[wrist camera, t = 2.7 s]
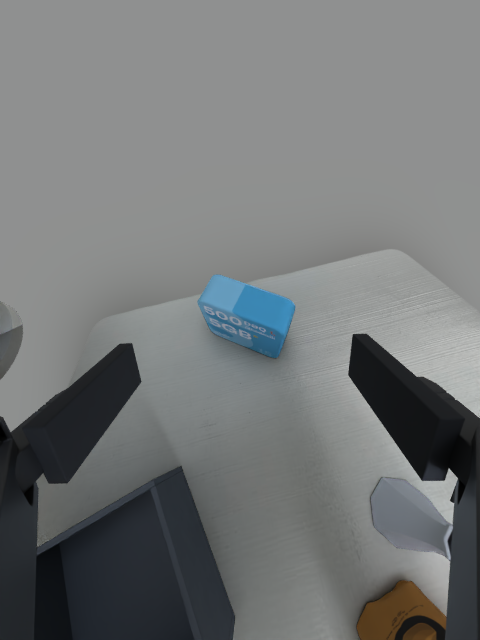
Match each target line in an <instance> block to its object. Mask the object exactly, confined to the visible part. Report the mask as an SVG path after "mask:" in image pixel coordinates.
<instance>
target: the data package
mask: <svg viewBox="0 0 480 640" xmlns="http://www.w3.org/2000/svg"><path fill="white" fill-rule="evenodd" d="M198 305H199V307H200V309H201V311H202V314H203V316H204V318H205V320H206V322H207V324H208V326H209V328H210V330H211V331H212V332H213V333H214V334H216V335H218V336H220V337H222V338H225V339H227V340H230V341H232V342H235V343H237V344H239V345H242V346H244V347H247V348H249V349H252V350H254V351H256V352H259V353H261V354H264V355H266V356H269V357H272V358H277V357H278V356H279V354H280V351H281V349H282V346H283V344H284V341H285V339H286V336H287V333H288V330H289V327H290V324H291V321H292V317H293V314H294V311H295V305H294V303H293V302H292V301H291V300H290V299H288V298H286V297H283V296H280V295H277V294H274V293H271V292H269V291H266V290H263V289H260V288H257V287H254V286H251V285H248V284H245V283H242V282H239V281H237V280H234V279H230V278H228V277H225V276H222V275H213V276H212V278H211V279H210V281H209V283H208V285H207V286H206V288H205V290H204V292H203V293H202V295H201V296H200V298H199V300H198Z"/></svg>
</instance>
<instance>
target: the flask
mask: <svg viewBox="0 0 480 640" xmlns="http://www.w3.org/2000/svg"><path fill="white" fill-rule="evenodd" d="M371 506H372V514H373V522H374V527H375V528H376V529H377V530H378V531H379V532H380V533H381V534H382V535H384V536H385V537H386V538H387V539H388V540H389V541H390V542H391V543H392V544H393V545H394V546H395V547H396V548H401V549H409V550H416V551H424V552H436V553H439V554H441V555H444V556H445V557H446V558H447V559H448V560H449V561H450V560H451V545H452V530H453V525H452V524H450V523H448V522H447V521H446V520H445V519H444V517H443V516H442V515H441V514H440V513H439V512H438V510H437V509H436V508H435V506H434V505H433V504H432V502H431V501H430V500H429V499H428V498H427V497H426V496H425V495H423V494H422V493H421V492H420V491H419V490H417V489H416V488H415V487H414V486H412V485H411V484H410V483H409V482H408V481H406V480H402V479H392V478H381V480H380V482H379V484H378V485H377V487H376V489H375V491H374V492H373V494H372V496H371Z"/></svg>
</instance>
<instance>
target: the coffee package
mask: <svg viewBox="0 0 480 640" xmlns="http://www.w3.org/2000/svg"><path fill="white" fill-rule="evenodd" d="M446 619H447V617H446V616H445V615H444V614H443V613H442V612H441V611H440V610H439V609H438V608H437V607H436V606H435V605H434V604H433V603H432V602H431V601H430V600H429V599H428V598H427V597H426V596H425V595H424V594H423V593H422V592H421V590H420V589H419V588H418V587H417V586H416V585H415V584H414V583H413V582H412V581H405V580H403V581H399V582H398V583H397V584H396V586H395V588H394V589H393V590H392V592H389V593H387V594H385V595H384V596H383V597H382V598H380V599H379V600H377V601H375V602H371V603H370V602H368V603H367V605H366V607H365V609H364V611H363V613H362V615H361V616H360V619H359V621H358V624H357V630H358V634H359V637H360V640H445V634H446Z"/></svg>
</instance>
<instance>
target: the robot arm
mask: <svg viewBox="0 0 480 640" xmlns="http://www.w3.org/2000/svg"><path fill="white" fill-rule="evenodd" d="M348 375H349V377H350V378H351V380H352V381H353V383H354V384H355V385H356V387H357V388H358V390H359V391H360V393H361V394H362V396H363V397H364V398H365V400H366V401H367V403H368V404H369V406H370V407H371V408H372V410H373V411H374V413H375V414H376V416H377V417H378V418H379V420H380V421H381V423H382V424H383V426H384V427H385V428H386V430H387V431H388V433H389V434H390V436H391V437H392V438H393V440H394V441H395V443H396V444H397V446H398V447H399V449H400V450H401V451H402V453H403V454H404V456H405V457H406V459H407V460H408V461H409V463H410V464H411V466H412V467H413V469H414V470H415V471H416V473H417V474H418V476H419V477H420V479H421V480H422V481H445V478H446V475H447V472H448V469H449V468H450V470H451V471H452V472H453V473H454V474H455V475H456V477H457V478H458V480H457V483H456V486H455V489H454V491H453V494H452V497H451V500H450V501H451V502H453V503H454V515H453V530H452V545H451V560H450V574H449V589H448V604H447V619H446V634H445V640H480V418H479V417H477V416H476V415H475V414H474V413H472V412H471V411H470V410H469V409H468V408H466V407H465V406H464V405H463V404H461V403H460V402H459V401H458V400H455V398H454V397H453V396H451V395H450V394H449V393H446V391H445V390H444V389H443V388H441V387H440V386H439V385H438V384H436V383H434V382H432V381H430V380H428V379H426V378H424V377H416V376H415V375H414V374H413V373H412V372H411V371H409V370H408V369H407V368H406V367H405V366H404V365H402V364H401V363H400V362H399V361H398V360H397V359H395V358H394V357H393V356H392V355H391V354H390V353H388V352H387V351H386V350H385V349H384V348H383V347H381V346H380V345H379V344H378V343H377V342H376V341H374V340H373V339H372V338H371V337H370V336H369V335H367V334H353V337H352V346H351V355H350V364H349V373H348ZM140 383H141V378H140V374H139V370H138V366H137V362H136V358H135V353H134V349H133V345H132V343H128V344H119V345H118V346H117V347H116V348H114V349H113V350H112V351H111V352H110V353H109V354H107V355H106V356H105V357H104V358H103V359H102V360H100V361H99V362H98V363H97V364H96V365H95V366H93V367H92V368H91V369H90V370H89V371H88V372H86V373H85V374H84V375H83V376H82V377H81V378H79V379H78V380H77V381H76V382H75V383H74V384H72V385H71V386H70V387H69V388H68V389H66V390H64V391H62V392H60V393H59V394H57V395H55V396H54V397H53V398H52V399H50V400H49V401H48V402H47V403H46V405H43V406H42V407H41V408H40V409H38V411H37V412H35V413H34V414H32V415H31V416H30V417H29V418H28V419H27V420H25V421H24V422H23V423H22V424H20V425H19V426H18V427H17V428H16V429H15V430H13V431H12V432H10V430H9V429H8V427H7V425H6V423H5V421H4V419H3V417H0V640H34V619H35V587H36V554H37V522H38V486H37V483H36V480H37V479H38V478H39V477H40V476H41V475H42V473H44V475H45V477H46V479H47V481H48V483H49V484H58V483H68V482H69V481H70V479H71V478H72V477H73V475H74V474H75V473H76V471H77V470H78V468H79V467H80V466H81V464H82V463H83V462H84V460H85V459H86V457H87V456H88V455H89V453H90V452H91V450H92V449H93V448H94V446H95V445H96V444H97V442H98V441H99V439H100V438H101V437H102V435H103V434H104V433H105V431H106V430H107V428H108V427H109V426H110V424H111V423H112V422H113V420H114V419H115V417H116V416H117V415H118V413H119V412H120V410H121V409H122V408H123V406H124V405H125V404H126V402H127V401H128V399H129V398H130V397H131V395H132V394H133V393H134V391H135V390H136V388H137V387H138V386H139V384H140Z"/></svg>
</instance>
